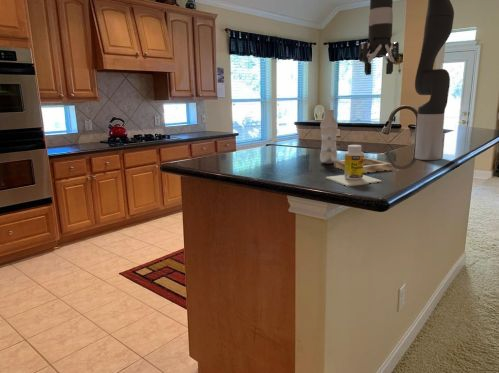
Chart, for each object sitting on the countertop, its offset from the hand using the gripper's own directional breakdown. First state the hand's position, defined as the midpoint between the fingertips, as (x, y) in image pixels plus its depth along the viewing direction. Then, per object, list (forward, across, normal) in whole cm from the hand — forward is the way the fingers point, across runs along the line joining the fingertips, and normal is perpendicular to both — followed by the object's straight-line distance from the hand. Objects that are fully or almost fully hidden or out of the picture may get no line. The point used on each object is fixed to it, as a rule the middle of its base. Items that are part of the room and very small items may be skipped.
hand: (378, 74), depth 133 cm
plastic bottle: (+32, +12, -12) cm, 36 cm away
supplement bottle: (+31, +20, +16) cm, 40 cm away
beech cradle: (+32, +7, +2) cm, 33 cm away
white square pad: (+32, +20, +16) cm, 41 cm away
